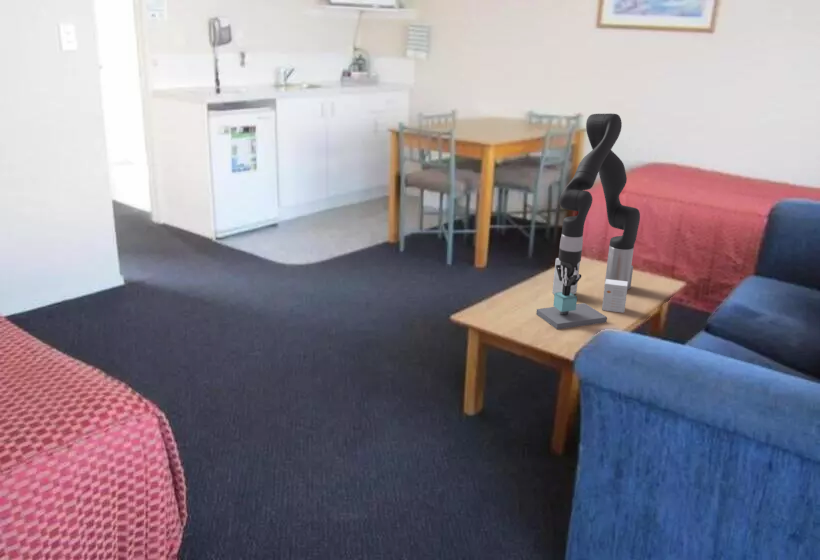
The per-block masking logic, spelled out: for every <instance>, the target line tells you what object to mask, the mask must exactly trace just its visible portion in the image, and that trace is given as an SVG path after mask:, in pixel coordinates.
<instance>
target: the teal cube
mask: <svg viewBox="0 0 820 560" xmlns="http://www.w3.org/2000/svg"><path fill="white" fill-rule="evenodd" d="M553 295H554V297H553V306H552V307H556V308H557V309H558V310H560V311H561V312H564V311H572V310H576V304H578V303H577V302H578V296H577V295H575V294H572V293H570V295H567V296H564V295H563V294H562V292H558V293H555V294H553Z"/></svg>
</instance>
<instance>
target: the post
mask: <svg viewBox="0 0 820 560" xmlns="http://www.w3.org/2000/svg"><path fill="white" fill-rule="evenodd" d="M568 313H569V311H564V312H561V311H560V314H561V315H568Z"/></svg>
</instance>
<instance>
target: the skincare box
mask: <svg viewBox="0 0 820 560" xmlns="http://www.w3.org/2000/svg"><path fill="white" fill-rule="evenodd" d="M554 262H555V264H554V274H553V281H552V282H553V284H552V292H551V293H552V294H553V295H555V293H558V292H562V289H563V284H562V281H560V280H559V276H558V273H557V269H556V265H559V264H560V262H561V261H560V260H559V257H556V258H555V261H554ZM580 263H581V261H580V262H579V263H578V264H577V266H578V270H577V272H578V274H579V273H580ZM578 282H579V281H578ZM578 282H577V283H576V285H573V286H571V290H570V293H572V294H574V295H575V294H577V291H578V284H579V283H578Z"/></svg>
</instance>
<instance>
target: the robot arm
mask: <svg viewBox="0 0 820 560" xmlns="http://www.w3.org/2000/svg"><path fill="white" fill-rule="evenodd" d="M622 123H623V122H622V118H621V117H620V115H619V114H617V113H592V114H590V115H589V116H588V117H587V119H586V123H585V124H586V125H585V127H586V129H585V130H586V135H587V137H588V141H589V143H590V146H591V149H592V150H591V151H589V153H587V154H586V155H585V156H584V157H583V158H582V159H581V160H580V162H579V164H578V166H577V168H576V171H575V174H574V175H573V178H572V179H571V180H570V181H569V182H568V184H567V185H566V186H565V187H564V189H563V190H562V191H561V194H560V196H559V200H558V201H559V205H560V207H561V208H562V209H564V210H568V211H574V212H578V213H577V214H576V215H574V216H572V215H571V216H566V217H565V218H563V220H562V228H561V229H562V230H561V237H560V239H559V240H560V241H559V251H558V258H559V260H560V261H561V262H560V264H559V265H556V269H557V273H558V276H559V280H560V281H562V284H563V289H562V294H563V295H564V296H567V295H570V290H571V286H573V285H576V283H577V282H579V281H580V280H581V278H582V274H578V272H577V270H578V266H577V264H578V263H579V262H580V263H581V261H582V253H583V245H584V243H583V242H584V239H583V238H584V229H585V228H584V227H585V221H586V220H587V216H588V214H589V211H590V209H591V207H592V203H593V196H592V193H591V192H590V191H588V190H590V189H592V188H593V186H594V184H595V182H596V179H597V177H598V176H599V180H600V183H601V186H602V190H603V195H604V200H605V206H606V216H607V221H608V224H609V225H610V227H612V228H614V229H617V230H622V231H623V233H622V235H618V236H613V237H611V238H610V239H609V246H608V255H607V262H606V271H605V278H604V282H605V281H606V279H610V280H619V281H628V286H627V291H628V290H629V289H631V288H632V279H633V273H634V265H632V264H633V263H632V262H633V256H634V250H635V249H634V248H635V243H636V241H637V235H638V232H639V226H640V219H641V213H640V210H639V209H638V208H636V207H633V206H629V205H623V204H622V203H621V200H620V195H621V193H622V191H623V190H624V188H625V186H626V184H627V179H628V177H627V172H626V168H625V164H624V162H623V161H622V160H621V159H620V157H619V156H618V155H617V154H616V153H615V152H614V151H613V150H612V149H613V147H614V146H615V144H616V143H617V141H618V138H619V137H620V135H621V131H622V127H623V126H622ZM577 284H578V283H577ZM604 287H605V284H604Z"/></svg>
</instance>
